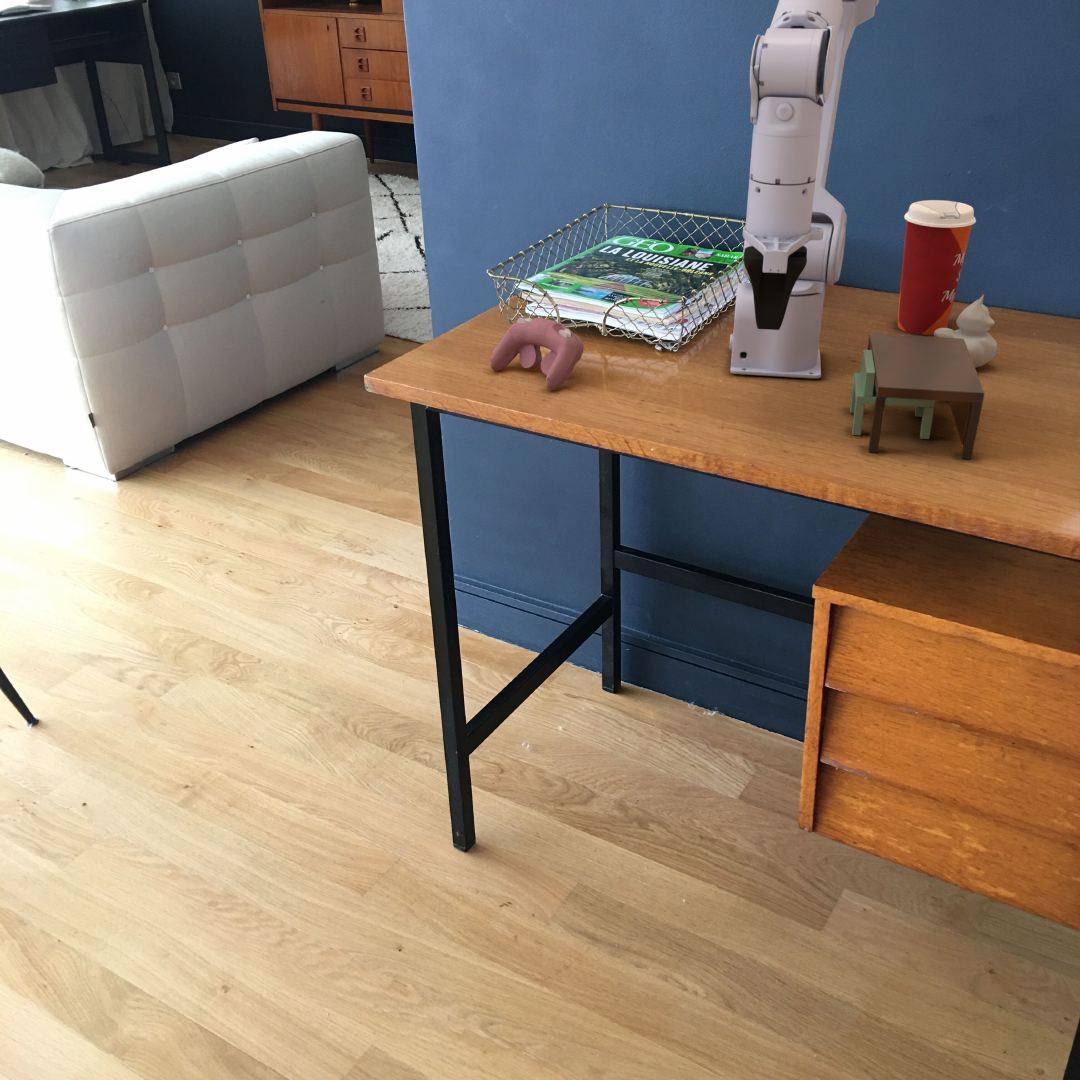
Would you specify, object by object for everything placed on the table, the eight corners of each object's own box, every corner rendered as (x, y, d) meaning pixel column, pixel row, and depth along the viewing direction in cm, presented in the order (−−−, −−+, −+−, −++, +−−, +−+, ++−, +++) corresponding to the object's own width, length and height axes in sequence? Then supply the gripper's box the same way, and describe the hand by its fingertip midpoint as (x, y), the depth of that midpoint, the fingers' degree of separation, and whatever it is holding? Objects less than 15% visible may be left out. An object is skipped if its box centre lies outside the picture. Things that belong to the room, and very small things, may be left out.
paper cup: (964, 337, 126) (987, 214, 119) (897, 338, 127) (916, 215, 119) (944, 315, 133) (964, 198, 126) (880, 316, 133) (897, 198, 126)
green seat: (852, 435, 104) (859, 371, 101) (849, 410, 109) (856, 349, 106) (929, 439, 103) (939, 375, 100) (923, 413, 108) (932, 351, 105)
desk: (868, 452, 101) (878, 386, 98) (860, 394, 113) (869, 333, 109) (971, 459, 99) (984, 392, 96) (952, 399, 111) (964, 338, 108)
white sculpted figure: (993, 377, 116) (1008, 303, 112) (927, 370, 118) (940, 298, 114) (993, 359, 120) (1007, 288, 116) (930, 353, 122) (942, 283, 118)
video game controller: (576, 397, 117) (595, 333, 116) (550, 390, 113) (570, 324, 112) (509, 374, 123) (528, 313, 122) (483, 367, 119) (501, 304, 118)
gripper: (831, 199, 89) (813, 356, 96) (827, 162, 102) (811, 304, 108) (743, 196, 91) (731, 352, 97) (750, 160, 103) (739, 301, 110)
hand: (768, 327), depth 103 cm, fingers closed
